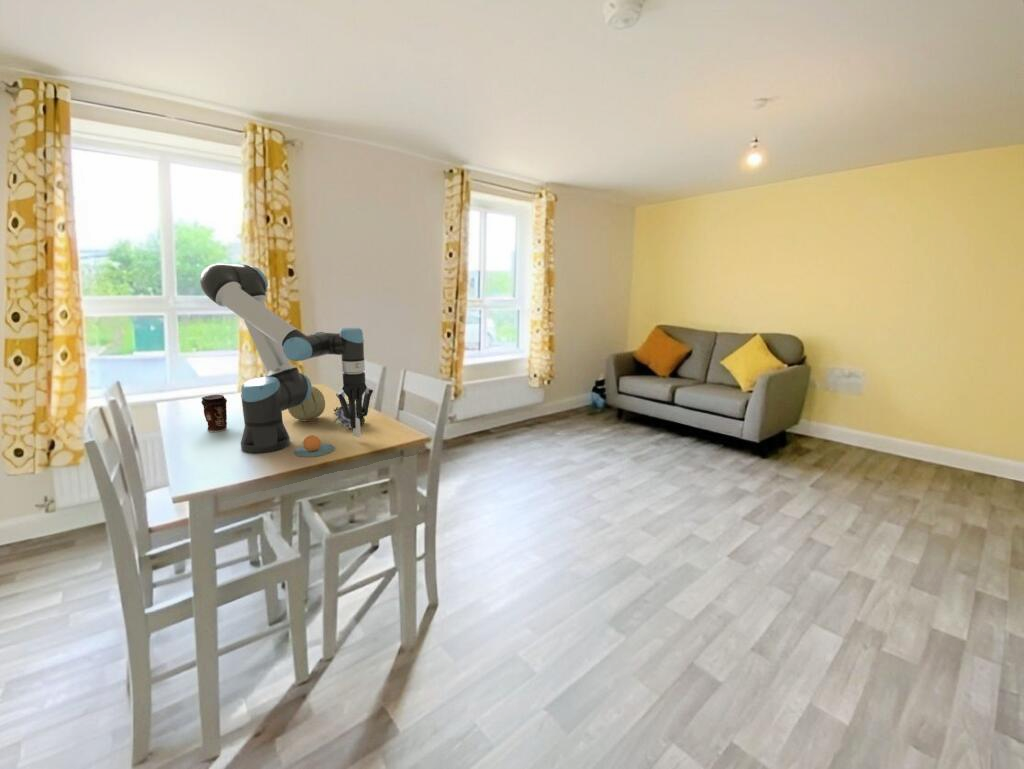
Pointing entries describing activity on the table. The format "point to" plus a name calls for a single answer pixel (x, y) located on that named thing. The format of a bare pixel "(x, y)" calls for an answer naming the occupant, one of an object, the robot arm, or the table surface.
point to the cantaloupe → (309, 407)
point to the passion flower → (342, 418)
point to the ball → (311, 443)
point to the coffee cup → (215, 412)
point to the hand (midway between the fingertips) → (357, 435)
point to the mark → (321, 451)
